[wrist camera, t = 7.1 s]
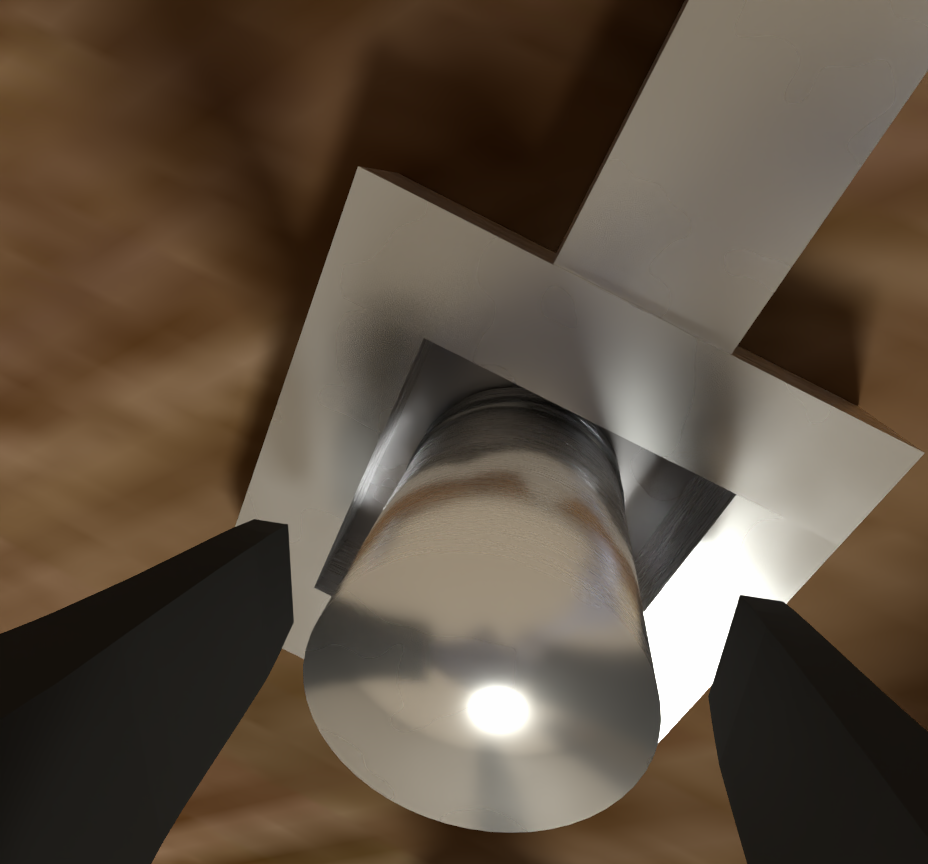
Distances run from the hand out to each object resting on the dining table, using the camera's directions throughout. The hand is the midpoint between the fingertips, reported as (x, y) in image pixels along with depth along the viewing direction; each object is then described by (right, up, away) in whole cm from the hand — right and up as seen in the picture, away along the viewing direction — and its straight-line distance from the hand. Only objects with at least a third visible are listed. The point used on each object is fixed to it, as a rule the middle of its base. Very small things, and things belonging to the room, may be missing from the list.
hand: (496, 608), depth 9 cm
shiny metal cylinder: (+1, +2, +3) cm, 4 cm away
